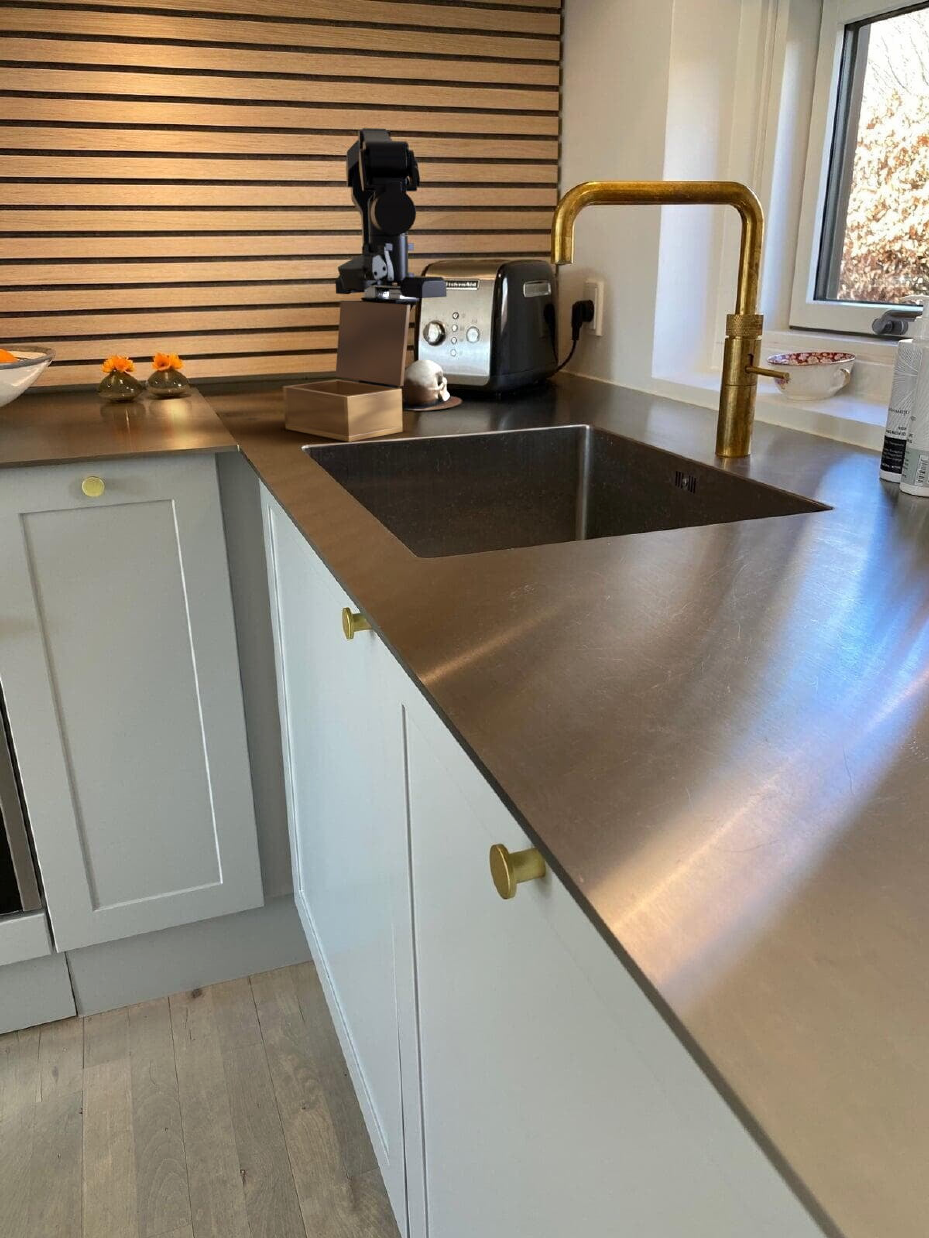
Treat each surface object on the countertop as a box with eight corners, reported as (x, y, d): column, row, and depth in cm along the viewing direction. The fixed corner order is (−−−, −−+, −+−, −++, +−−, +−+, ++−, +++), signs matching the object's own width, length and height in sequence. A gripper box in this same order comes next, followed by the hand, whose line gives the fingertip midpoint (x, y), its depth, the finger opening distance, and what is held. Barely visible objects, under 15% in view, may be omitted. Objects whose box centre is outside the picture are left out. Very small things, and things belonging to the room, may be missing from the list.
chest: (349, 442, 133) (347, 397, 131) (285, 428, 142) (282, 386, 140) (402, 431, 141) (401, 388, 138) (339, 419, 150) (337, 379, 147)
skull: (419, 390, 171) (449, 350, 164) (451, 434, 169) (482, 395, 162) (373, 396, 162) (402, 353, 156) (405, 442, 160) (436, 401, 154)
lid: (407, 304, 135) (410, 305, 135) (340, 300, 144) (344, 301, 144) (400, 386, 138) (403, 386, 138) (335, 376, 147) (338, 377, 148)
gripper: (305, 235, 139) (311, 345, 144) (392, 235, 127) (395, 354, 133) (361, 236, 146) (365, 340, 152) (448, 235, 135) (449, 348, 140)
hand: (391, 345), depth 144 cm, fingers closed
